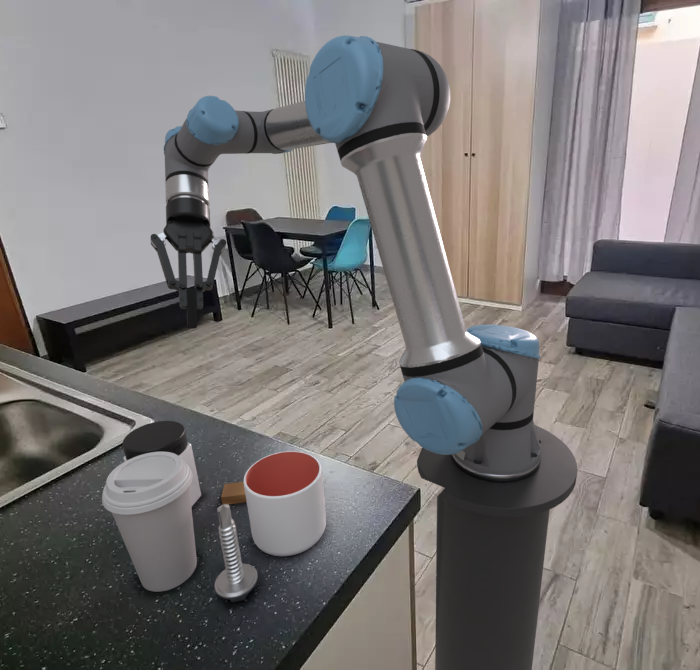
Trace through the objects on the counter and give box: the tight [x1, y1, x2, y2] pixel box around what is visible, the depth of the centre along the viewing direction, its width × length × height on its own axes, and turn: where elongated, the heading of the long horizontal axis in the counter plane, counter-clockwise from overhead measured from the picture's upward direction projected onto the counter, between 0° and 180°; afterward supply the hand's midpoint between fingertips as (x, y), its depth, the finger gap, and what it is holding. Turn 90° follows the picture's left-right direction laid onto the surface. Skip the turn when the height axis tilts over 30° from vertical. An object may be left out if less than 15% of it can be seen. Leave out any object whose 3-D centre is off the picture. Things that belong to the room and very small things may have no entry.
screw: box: [214, 504, 259, 603], centre depth 56 cm, size 13×5×5 cm
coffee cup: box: [101, 452, 198, 593], centre depth 59 cm, size 10×10×15 cm
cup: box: [243, 450, 327, 557], centre depth 65 cm, size 10×10×10 cm
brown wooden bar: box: [220, 481, 247, 505], centre depth 75 cm, size 13×3×2 cm, turn 100°
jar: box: [122, 420, 202, 508], centre depth 71 cm, size 9×8×12 cm
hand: (192, 325), depth 84 cm, fingers closed
